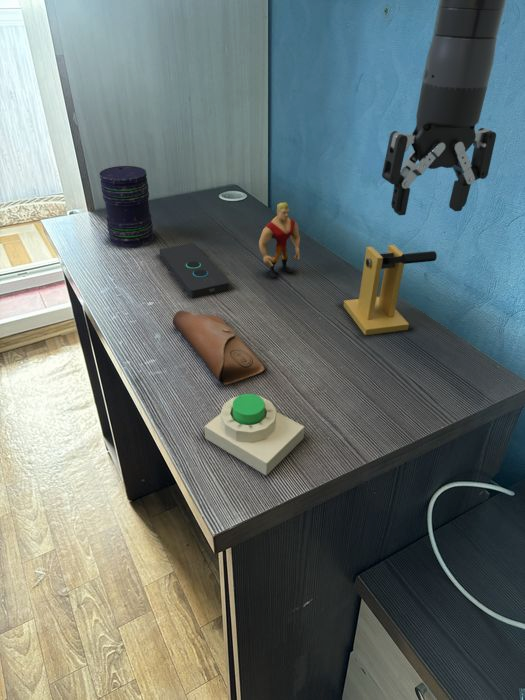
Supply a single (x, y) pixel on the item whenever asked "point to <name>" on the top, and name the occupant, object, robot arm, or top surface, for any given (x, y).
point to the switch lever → (407, 258)
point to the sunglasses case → (218, 347)
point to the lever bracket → (376, 310)
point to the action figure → (280, 238)
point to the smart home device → (194, 270)
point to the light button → (248, 409)
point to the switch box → (255, 437)
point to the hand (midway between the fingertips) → (427, 211)
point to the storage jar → (127, 206)
